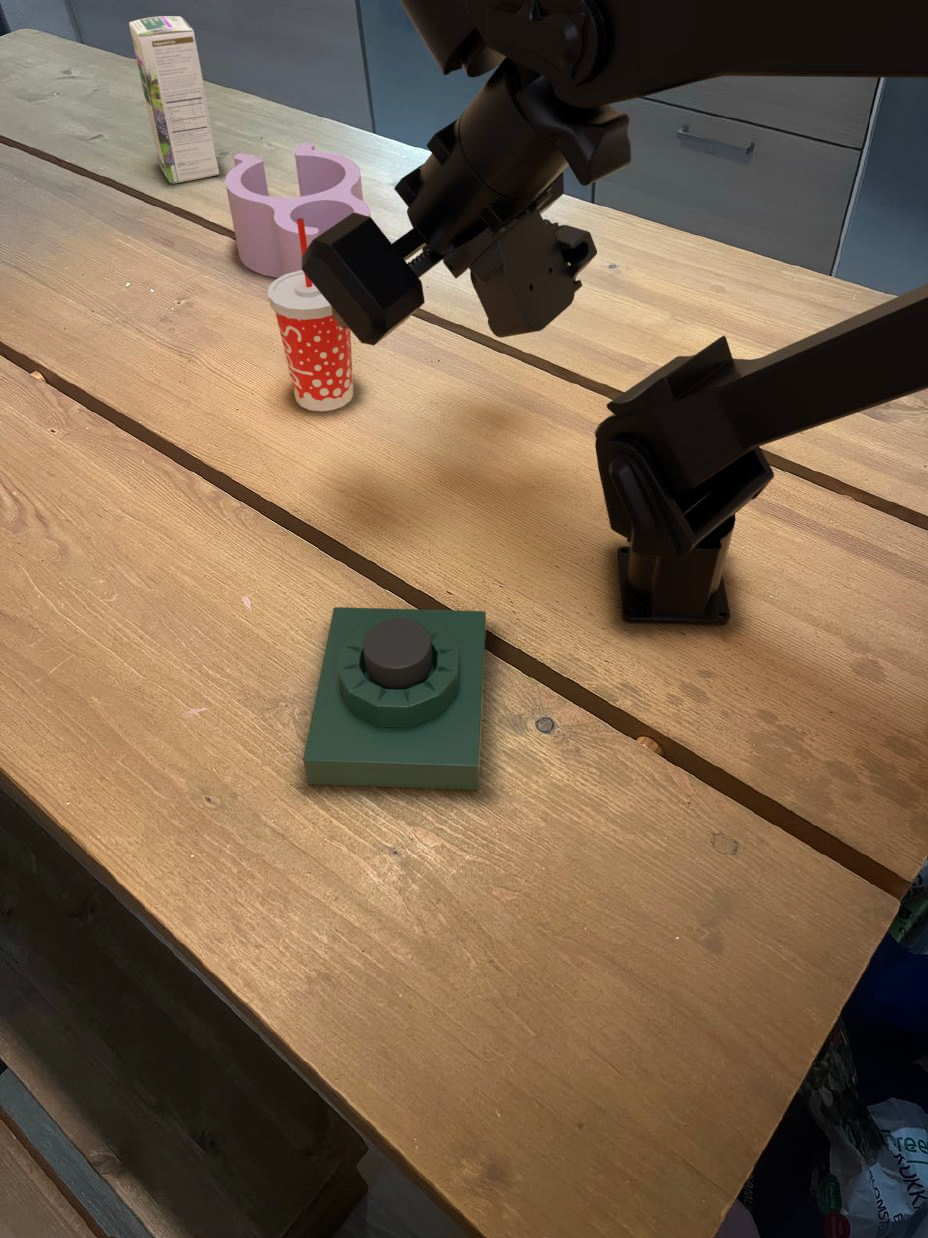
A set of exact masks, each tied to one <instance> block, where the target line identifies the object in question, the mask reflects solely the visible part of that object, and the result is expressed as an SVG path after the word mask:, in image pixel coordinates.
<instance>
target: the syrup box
mask: <svg viewBox="0 0 928 1238" xmlns="http://www.w3.org/2000/svg"><path fill="white" fill-rule="evenodd" d="M128 25H129V31H130V35H131V39H132V42H133V43H132V44H133V49H134V53H135V59H136V64H137V69H138V72H139V77H140V82H141V88H142V92H143V97H144V101H145V107H146V110H147V111H146V112H147V116H148V120H149V124H150V128H151V133H152V137H153V142H154V146H155V150H156V156H157V159H158V164H159V167H160V168H161V171H162V172H163V174H164V176H165V178H166V180H167V181H168V182H169V184H178V183H179V184H180V183H183V182H189V181H195V180H200V179H205V178H210V177H213V176H219V175H220V174H221V173H220V169H219V164H218V163H219V162H218V157H217V151H216V147H215V146H216V145H215V140H214V134H213V130H212V124H211V118H210V113H209V107H208V102H207V96H206V91H205V85H204V79H203V74H202V68H201V67H202V66H201V62H200V57H199V52H198V46H197V42H196V36H195V31H194V29H193V28H192V27H191V25H190V24H189V23H188V22H187V21H186V20H185V19H184V18H183V17H182V16H180V15H179V16H175V15H159V16H150V17H145V18H139V19H136V20H135V19H134V20H132V21H129V22H128Z"/></svg>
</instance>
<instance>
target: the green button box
mask: <svg viewBox="0 0 928 1238" xmlns="http://www.w3.org/2000/svg"><path fill="white" fill-rule="evenodd" d="M332 610H333V611H332V615H331V620H330V623H329V624H330V625H329V629H328V635H327V639H326V644H325V650H324V653H323V654H324V655H323V658H322V659H323V660H322V665H321V669H320V674H319V680H318V685H317V689H316V695H315V699H314V704H313V708H312V714H311V719H310V724H309V729H308V735H307V739H306V743H305V749H304V753H303V754H304V755H303V759H302V761H303V765H304V770H305V774H306V778H307V783H308V785H322V786H323V785H324V786H347V787H348V786H350V787H377V788H406V789H407V788H409V789H410V788H412V789H432V790H433V789H434V790H435V789H437V790H441V789H442V790H463V791H464V790H465V791H479V790H480V769H481V768H480V767H481V746H482V726H483V724H482V723H483V705H484V704H483V703H484V682H485V681H484V680H485V662H486V661H485V659H486V639H487V638H486V637H487V613H486V611H485V610H458V609H457V610H456V609H455V610H453V609H420V608H418V609H413V608H381V607H380V608H379V607H376V608H375V607H345V606H344V607H342V606H340V607H339V606H334V607H333V609H332ZM395 618H403V619H409V620H413V621H415V622H417V623H419V624H421V625H422V626H423V627H424V628H425V629H426V630H427V631H428V633H429V635H430V637H431V645H432V668H431V671H430V672H429V674H428V676H427V677H426V678H425V679H424V680H423V681H422V682H420V683H419V684H417V685H415V686H412V687H409V688H405V689H389V688H385V687H382V686H380V685H378V684H377V683H375V682H374V681H373V680H372V679H371V678H370V677H369V675H368V673H367V671H366V666H365V659H364V651H363V641H364V638H365V636H366V634H367V633H368V631H369V630H370V629H371V628H372V627H374V626H375V625H376V624H378V623H380V622H382V621H385V620H389V619H395Z"/></svg>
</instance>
